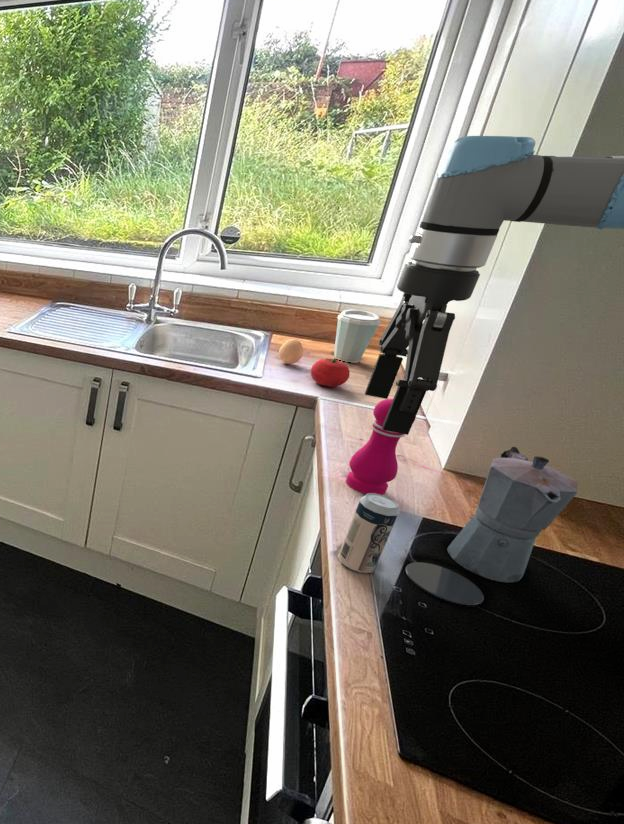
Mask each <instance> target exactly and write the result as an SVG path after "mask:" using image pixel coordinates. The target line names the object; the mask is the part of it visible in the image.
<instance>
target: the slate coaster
mask: <svg viewBox="0 0 624 824" xmlns="http://www.w3.org/2000/svg"><path fill="white" fill-rule="evenodd" d="M404 573H405V575H406V577H407V578H408V580H409V581H410V582H411V583H412V584H413V585H415V586H416V587H417V588H418V589H420V590H421V591H423V590H424V591H423V592H424V593H426V592H427V593H426V594H428V593H429V594H428V595H430V594H431V595H430V596H432V595H433V596H432V597H434V596H435V597H434V598H436V597H437V598H436V599H438V598H440V599H439V600H441V599H444V600H445V601H444V602H446V601H449V602H452V603H456V604H460V605H459V606H461V605H467V606H466V607H470V606H471V605H478V604H480V605H482V604H483V602H484V600H485V596H484V593H483V592H482V590H481V589H480V588H479V587H478V586H477V585H476V584H475V583H473V582H472V581H471V580H469V579H468V578H466V577H465V576H463V575H461V574H459V573H457V572H455V571H453V570H451V569H448V568H446V567H443V566H440V565H437V564H433V563H428V562H422V561H421V562H419V561H417V562H416V561H415V562H410V563H409V564H406V567H405V568H404ZM449 602H448V603H449ZM452 603H451V604H452ZM456 604H455V605H456ZM478 606H479V605H478ZM471 607H472V606H471Z"/></svg>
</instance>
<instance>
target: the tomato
mask: <svg viewBox="0 0 624 824" xmlns="http://www.w3.org/2000/svg"><path fill="white" fill-rule="evenodd" d="M349 368H350V367H348V365H347V364H346V362H343V361H339V360H336V358H334V357H333V358H322V359H321V358H320V359H319V360H317V361H316V362H314V364H313V365H311V369H310V376H311V378H312V380H313V381H314V382H315V383H317V384H318V385H321V386H323V387H328V388H336V387H339V386H342V385H343V384H345V383H346V382H347V381H348V380H349V379H350V375H351V373H350V369H349Z"/></svg>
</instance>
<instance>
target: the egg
mask: <svg viewBox="0 0 624 824" xmlns="http://www.w3.org/2000/svg"><path fill="white" fill-rule="evenodd" d="M303 354H304V347H303V344H302V342H301V341H300V340H298V339H296V338H290V339H288V340H285V342H283V344H281V346H280V348H279V349H278V358H279V360H280V361H281V362H282V363H283V364H285V365H295V364H297V363H298V362H299V361H300V360H301V359H302V357H303Z"/></svg>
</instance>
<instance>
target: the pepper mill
mask: <svg viewBox="0 0 624 824" xmlns="http://www.w3.org/2000/svg"><path fill="white" fill-rule="evenodd" d="M392 401H393V398H387V399H385V398H384V399H382V400H381V401H379V402H378V403H376V405H375V406H374V408H373V412H372V413H373V416H374V418H375V419H374V420H372V424H371V425H370V428H371V429H372V432H371V435H370V437H369V440H368V441H367V442H366V443H365V444H363V446H362V447H360V448H359V449H358V450H357V451H355V453H354V454H353V455H352V456H351V457H350V460H349V462H348V465H349V469H350V470H351V471H349V472H348V473H347V476H346V479H345V483H346V485H347V486H348V487H350V488H351V489H353V490H355V491H356V492H359V493H362V494H364V495H367V494H368V493H376V494H380V495H384V496H385V495H386V492H387V491H388V488H389V484H388V483H389V482H392V481H393V480H395V479H396V478H397V475H398V472H399V471H398V469H399V464H398V459H397V453H396V452H397V451H396V449H397V445H398V443H399V441H400V439H401V438H404V437H405V436H406V434H401V433H396V432H391V431H386V430H383V429H382V426H383V423H384V421H385V418H386V416H387V413H388V411H389V408H390V406H391V403H392ZM416 419H417V416H416V417H415V420H414V422H415V421H416ZM414 422H413V424H414Z"/></svg>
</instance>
